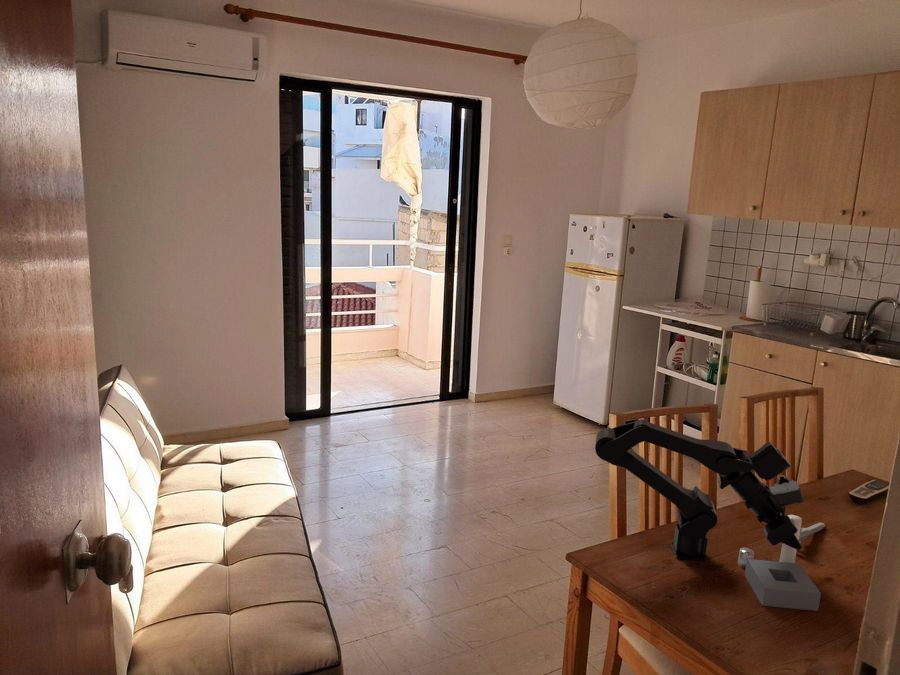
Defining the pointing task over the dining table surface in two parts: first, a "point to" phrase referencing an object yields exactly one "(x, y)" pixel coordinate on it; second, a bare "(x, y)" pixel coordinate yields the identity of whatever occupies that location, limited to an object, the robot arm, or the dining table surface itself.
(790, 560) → the ivory pin
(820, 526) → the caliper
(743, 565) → the short stub
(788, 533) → the robot arm
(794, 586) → the hole block
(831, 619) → the dining table surface
